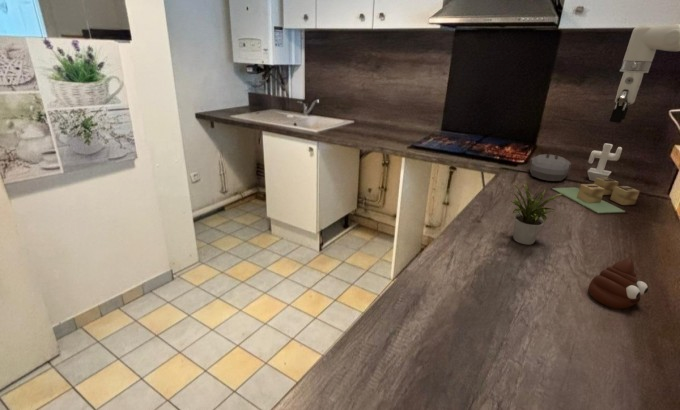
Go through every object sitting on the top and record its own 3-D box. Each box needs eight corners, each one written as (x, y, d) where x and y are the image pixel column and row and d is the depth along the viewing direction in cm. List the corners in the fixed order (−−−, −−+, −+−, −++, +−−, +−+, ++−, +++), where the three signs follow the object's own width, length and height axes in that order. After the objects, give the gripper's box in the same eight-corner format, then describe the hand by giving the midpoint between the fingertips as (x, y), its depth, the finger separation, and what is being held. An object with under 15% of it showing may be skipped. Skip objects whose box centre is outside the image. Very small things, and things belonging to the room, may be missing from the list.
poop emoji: (604, 280, 81) (617, 244, 77) (648, 302, 74) (665, 264, 70) (578, 292, 76) (591, 255, 73) (622, 317, 70) (639, 277, 66)
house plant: (480, 236, 99) (492, 180, 92) (505, 222, 107) (517, 170, 101) (533, 258, 89) (550, 197, 82) (556, 241, 97) (572, 185, 91)
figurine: (585, 175, 151) (596, 140, 145) (612, 180, 145) (624, 144, 139) (581, 179, 146) (592, 143, 140) (609, 185, 140) (621, 147, 134)
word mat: (575, 188, 136) (576, 187, 136) (625, 212, 116) (625, 211, 116) (551, 189, 135) (552, 188, 134) (597, 213, 115) (598, 212, 115)
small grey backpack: (529, 166, 161) (524, 178, 145) (534, 148, 157) (529, 158, 142) (568, 172, 154) (567, 186, 138) (573, 153, 150) (573, 165, 135)
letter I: (589, 196, 127) (593, 183, 125) (600, 202, 122) (605, 188, 120) (576, 197, 126) (580, 183, 124) (587, 203, 122) (592, 188, 120)
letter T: (622, 199, 127) (627, 185, 125) (634, 204, 122) (640, 190, 120) (609, 199, 126) (614, 185, 124) (621, 205, 122) (627, 191, 119)
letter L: (603, 189, 135) (607, 176, 133) (614, 194, 130) (619, 181, 128) (591, 190, 134) (595, 177, 132) (602, 195, 130) (606, 181, 128)
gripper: (647, 68, 108) (627, 125, 115) (651, 67, 120) (632, 118, 127) (617, 67, 113) (600, 121, 120) (624, 66, 125) (607, 115, 132)
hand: (616, 120), depth 123 cm, fingers open, 9 cm apart
